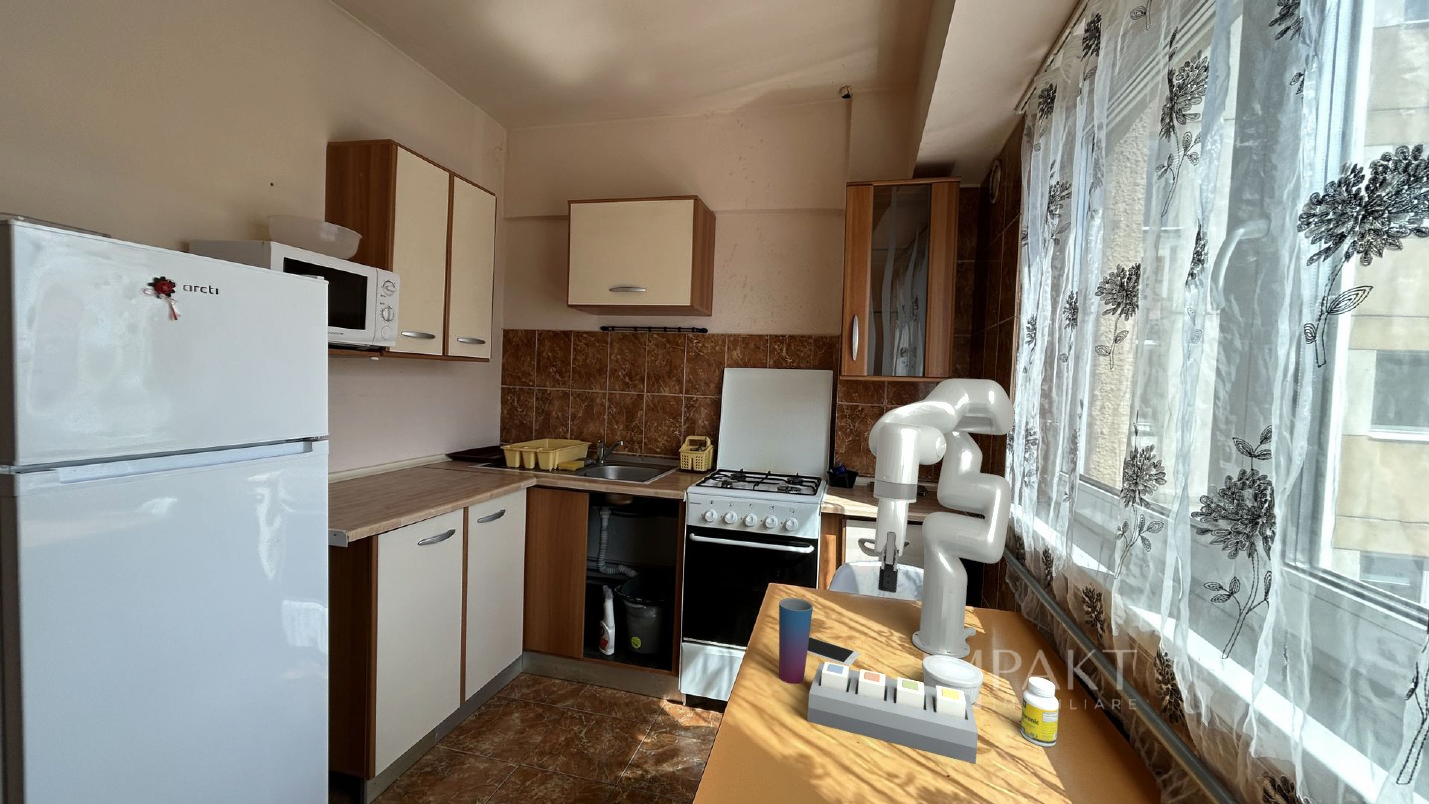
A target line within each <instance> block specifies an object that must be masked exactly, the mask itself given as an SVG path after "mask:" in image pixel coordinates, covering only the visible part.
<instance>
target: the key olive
mask: <svg viewBox="0 0 1429 804" xmlns="http://www.w3.org/2000/svg"><path fill="white" fill-rule="evenodd" d="M896 680H897V697H896V704H901V705H905V706H909V707H914V708H918V709H922V710H923V708H924V686H925V684H924V681H923V682H921V681H916V680H913V679H907V678H904V677H901V676H900V677H899V676H897V679H896Z"/></svg>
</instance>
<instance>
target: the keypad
mask: <svg viewBox="0 0 1429 804" xmlns="http://www.w3.org/2000/svg"><path fill="white" fill-rule="evenodd" d="M824 664H825V663H822V662H819V663H818V667H817V668H816V672H815V675H814V678H813V681H812V683H811V685H810V690H809V693H808V703H807V704H808V707H807V722H810V723H813V724H816V725H821V726H825V727H829V728H833V729H836V730H840V731H843V732H844V731H845V732H848V733H853V734H856V735H859V736H865V737H868V738H872V739H876V740H880V741H884V742H888V743H891V744H892V743H893V744H896V745H900V746H903V747H904V746H905V747H908V748H912V749H916V750H920V751H923V752H926V753H927V752H928V753H932V754H935V755H940V756H944V757H947V758H952V759H956V760H959V761H963V762H966V763H971V764H975V765H976V763H977V752H978V751H977V750H978V749H977V748H978V737H979V736H978V735H979V733H978V727H977V723H976V722H977V721H976V717H975V714H974V710H973V709H974V708H973V704H971V699H970V695H966V694H964V697H965V702H966V710H965V719H962V718H957V717H953V716H948V715H944V714H940V713H936V706H935V697H936V688H933V687H929V686H925V685H924V708H923V710H922V709H918V708H914V707H909V706H905V705H901V704H896V697H897V680H898V679H895V678H891V677H887V676H885V691H884V701H883V700H879V699H874V698H870V697H866V696H861V695H858V686H859V677H860V671H859V670H854V669H850V668H849V676H848V685H847V690H846V692H844V691H840V690H835V689H831V688H827V687H822V686H821V679H822V671H823V667H824Z"/></svg>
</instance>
